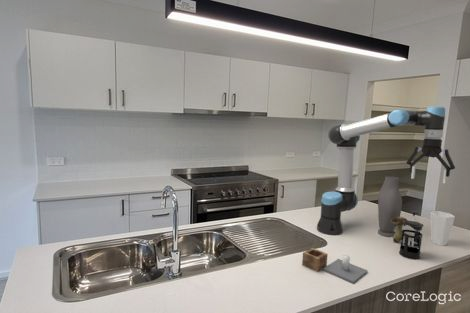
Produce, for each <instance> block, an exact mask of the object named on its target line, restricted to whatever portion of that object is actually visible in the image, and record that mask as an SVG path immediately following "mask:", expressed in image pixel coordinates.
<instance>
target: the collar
mask: <svg viewBox="0 0 470 313" xmlns="http://www.w3.org/2000/svg"><path fill="white" fill-rule="evenodd" d="M301 265H302V266H304V267H306V268H308V269H311V270H313V271H315V272H316V273H317V272H319V271H321V270H323V268H324V267H326V266H328V253H327V252H324V251H323V250H322V251H321V250H319V249H317V248H314V247H311V248H309V249H308V250H305V251H304V252H302V261H301Z"/></svg>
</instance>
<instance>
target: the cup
mask: <svg viewBox="0 0 470 313" xmlns="http://www.w3.org/2000/svg"><path fill="white" fill-rule="evenodd" d="M429 214H430V241H431V243H433V244H434V245H437V246H441V247H442V246H443V247H444V246H447V245H448V242H449V239H450V235H451V232H452V229H453V224H454V222H455V217H456V216H455V215H453V214H452V213H450V212H446V211H445V212H444V211H439V210H436V211H430V213H429Z"/></svg>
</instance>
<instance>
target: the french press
mask: <svg viewBox="0 0 470 313" xmlns="http://www.w3.org/2000/svg"><path fill="white" fill-rule="evenodd" d="M409 213H410V214H412V216H413V217H412V220H408V221H403V223H404V225H403V227H405V226H409V227H411V229H402V238H401V241H400V246H399V251H398V254H399V255H400V256H402V257H403V258H406V259H409V260H419V259H421V248H422V247H421V246H422V238H423V233H421V231H422V230H423V228H424V224H423V223H421V222H418V221H415V216H416V215H419V214H420V212H418V211H414V210H410V211H409ZM407 233H411V234H407ZM413 234H414V235H413ZM412 239H413V240H412Z"/></svg>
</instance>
